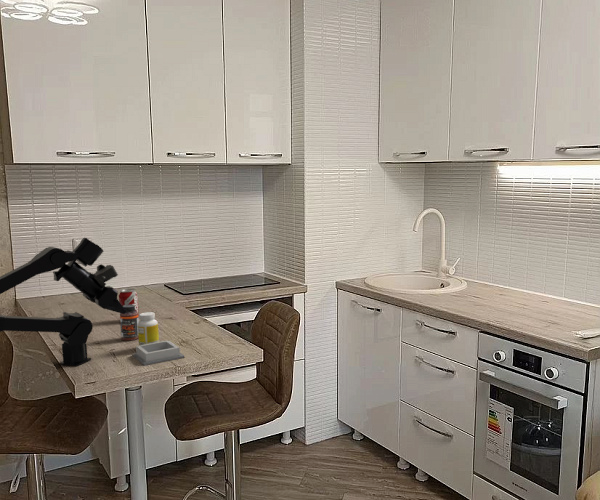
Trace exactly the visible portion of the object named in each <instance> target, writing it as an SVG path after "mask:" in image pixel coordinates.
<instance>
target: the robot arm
mask: <svg viewBox="0 0 600 500" xmlns="http://www.w3.org/2000/svg"><path fill="white" fill-rule="evenodd" d="M104 252H105V251H104V249H103V248H102V247H101V246H100V245H98V244H96V243H95V242H93V241H92V240H90V239H89V238H88V237H83V238H81V241H80V242H79V243H78V245H77V246H76V247H75V248H74V250H73V251H72V250H67V249H66V250H63V249H62V248H58V247H55V246H47V247H45V248H44V249H43V250H41V251H39V253H37V254H35V256H34V257H33V258H31V260H29V261H28V262H25V263H24V264H22V265H20V266H18V267H16V268H14V269H12V270H10V271H8V272H7V273H5V274H2V275H0V295H1V294H3V293H5V292H7V291H9V290H11V289H12V288H14V287H17V286H19V285H21V284H22V283H24V282H26V281H28V280H30V279H31V278H33V277H36V276H38V275H41V274H45V273H48V272H49V273H50V272H51V271H52V273H53V281H56V282H59V281H60V280H61V279H62V278H63V279H64V280H65V281H66V282H68V283H69V284H70V285H71V286H73V287H74V288H75V289H76V290H78V291H79V292H80V293H82V297H84V298H85V299H86V300H88V301H90V302H91V303H94V304H96V305H97V306H99V307H100V308H101V309H103V310H108V311H111V312H115V313H118V314H120V313H122V314H125V313H126V310H125V309H124V307H123V306H122V305H121V303H120V302H119V298H118V296H119V293H118V292H119V291H118V290H117V289H116V288H115V287H112V286H110V285H108V286H106V285H107V283H106V282H108V281H110V280H112V279H113V278H116V277H118V276H119V273H118V272H117V271H116V269H115V267H114V266H113V265H111V264H107V265H103V264H100V263H99V265H97V266H96V271H95V273H93V272H92V273H91V272H90V271H88V270H87V269H85V268H84V267H88V266H91V267H92V266H93V265H94V264H95V262H96V261H97V260H98V259H99V258H100V256H101V255H102V254H103V253H104ZM81 265H82V266H81ZM54 270H56V271H54ZM62 314H63V316H60V317H42V316H41V317H40V316H19V315H18V316H17V315H4V314H3V315H2V314H0V332H34V333H35V332H36V333H37V332H39V333H58V336H59V338H60V340H61V341H63V343H61V352H62V361H60V362H58V363H59V365H62V366H69V367H70V366H71V367H77V366H80V365H82V364H85V363H88V362H89V361H91V360H92V358H91V357H88V346H87V342H88V338H89V335H90V334H91V333H92V331H93V326H94V325H93V323H92V322H91V320H90V319H89V318H87V317H85V316H84V315H83V314H81V313H79V312H78V311H76V312H68V311H63V312H62Z"/></svg>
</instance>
